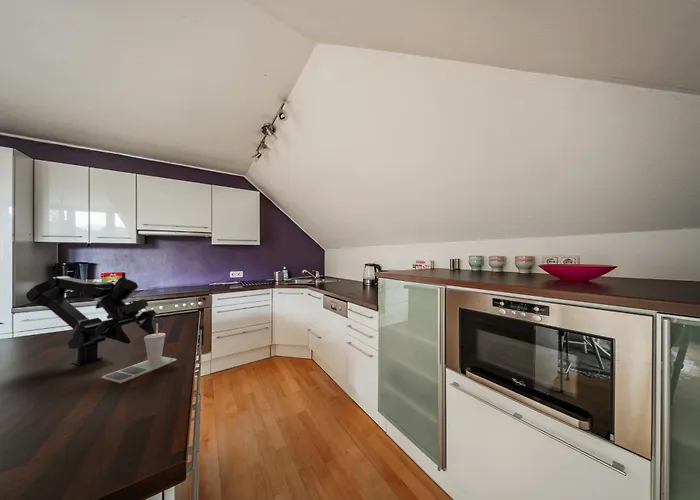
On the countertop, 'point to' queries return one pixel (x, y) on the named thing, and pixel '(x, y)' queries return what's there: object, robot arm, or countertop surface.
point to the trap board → (136, 370)
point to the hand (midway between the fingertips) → (141, 338)
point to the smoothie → (154, 346)
